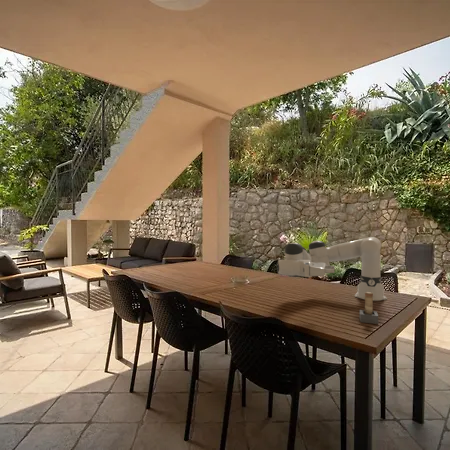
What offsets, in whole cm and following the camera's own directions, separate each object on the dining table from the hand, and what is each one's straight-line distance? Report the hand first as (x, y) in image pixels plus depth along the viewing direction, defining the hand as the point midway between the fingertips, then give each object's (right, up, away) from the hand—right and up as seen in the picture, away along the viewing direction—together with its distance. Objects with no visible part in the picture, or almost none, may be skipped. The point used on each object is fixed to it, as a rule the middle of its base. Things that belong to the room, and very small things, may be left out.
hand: (334, 269), depth 167 cm
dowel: (+15, -24, -5) cm, 29 cm away
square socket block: (+15, -25, -5) cm, 30 cm away
